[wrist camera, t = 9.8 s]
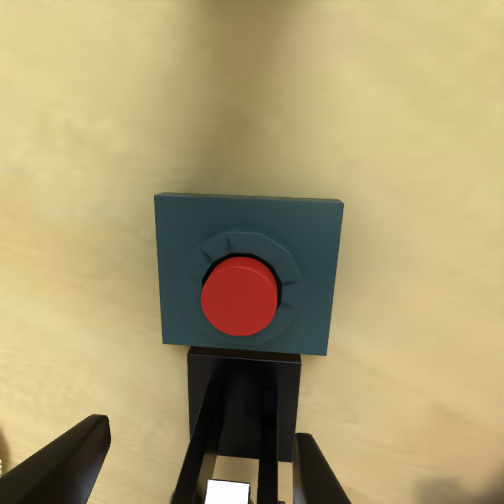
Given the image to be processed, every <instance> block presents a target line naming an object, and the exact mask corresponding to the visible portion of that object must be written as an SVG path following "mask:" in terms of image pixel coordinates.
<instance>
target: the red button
mask: <svg viewBox="0 0 504 504" xmlns="http://www.w3.org/2000/svg"><path fill="white" fill-rule="evenodd" d="M201 305H202V309H203V312H204V314H205V316H206V318H207V319H208V320H209V322H210V323H211V324H212V325H213V326H214V327H216V328H217V329H218V330H220V331H222V332H224V333H227V334H230V335H234V336H248V335H252V334H255V333H257V332H259V331H261V330H262V329H264V328H265V327H266V326H267V325H268V324H269V323H270V322H271V320H272V319H273V317H274V315H275V312H276V308H277V285H276V281H275V278H274V276H273V274H272V273H271V271H270V270H269V269H268V268H267V267H266V266H265V265H264V264H262V263H261V262H259V261H257V260H255V259H252V258H249V257H233V258H229V259H227V260H225V261H223V262H221V263H220V264H219V265H217V266H216V267H215V268H214V270H213V271H212V273H211V274H210V276H209V278H208V279H207V281H206V283H205V285H204V287H203V290H202V294H201Z"/></svg>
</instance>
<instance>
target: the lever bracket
mask: <svg viewBox="0 0 504 504" xmlns="http://www.w3.org/2000/svg"><path fill="white" fill-rule="evenodd" d="M187 367H188V397H189V427H190V443H189V446H188V450H187V453H186V456H185V459H184V462H183V466H182V469H181V472H180V475H179V478H178V481H177V485H176V488H175V490H174V491H173V493H172V495H171V498H170V501H169V504H204V500H205V494H206V487H207V480H208V479H212V476H213V471H214V467H215V462H216V457H217V455H220V456H230V457H240V458H250V459H259V472H258V488H257V504H286V503H285V502H284V501H278V461H280V462H291V463H292V461H293V450H294V439H295V429H296V418H297V407H298V396H299V385H300V373H301V355H300V354H294V353H281V352H267V351H254V350H241V349H227V348H214V347H200V346H191V347H190V349H189V351H188V353H187Z"/></svg>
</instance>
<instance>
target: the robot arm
mask: <svg viewBox="0 0 504 504" xmlns="http://www.w3.org/2000/svg"><path fill="white" fill-rule="evenodd" d="M110 444H111V434H110V426H109V419H108V417H107V416H106V415H99V414H92V415H90V416H88V417H87V418H85V419H84V420H83V421H81V422H80V423H78V424H77V425H75V426H74V427H72V428H71V429H70V430H68V431H67V432H65V433H64V434H62V435H61V436H59V437H58V438H56V439H55V440H54V441H52V442H51V443H49V444H48V445H46V446H45V447H43V448H42V449H41V450H39V451H38V452H36V453H35V454H33V455H32V456H30V457H29V458H28V459H26V460H25V461H23V462H22V463H20V464H19V465H17V466H16V467H14V468H13V469H12V470H10V471H9V472H7V473H6V474H4V475H3V476H1V477H0V504H86V503H87V501H88V498H89V496H90V493H91V491H92V489H93V486H94V484H95V481H96V479H97V477H98V474H99V472H100V469H101V467H102V465H103V462H104V460H105V457H106V455H107V453H108V450H109V447H110ZM293 504H351V502H350V501H349V499H348V497H347V495H346V494H345V492H344V490H343V488H342V487H341V485H340V483H339V481H338V480H337V478H336V476H335V475H334V473H333V471H332V469H331V468H330V466H329V464H328V462H327V461H326V459H325V457H324V455H323V454H322V452H321V450H320V448H319V447H318V445H317V443H316V442H315V440H314V438H313V437H312V435H311V434H307V433H296V434H295V439H294V450H293Z"/></svg>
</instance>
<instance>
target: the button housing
mask: <svg viewBox="0 0 504 504" xmlns="http://www.w3.org/2000/svg"><path fill="white" fill-rule="evenodd" d="M154 204H155V221H156V238H157V255H158V272H159V289H160V306H161V323H162V340H163V344H174V345H187V346H200V347H214V348H227V349H241V350H254V351H267V352H281V353H294V354H308V355H321V356H326V354H327V346H328V337H329V328H330V320H331V311H332V302H333V294H334V285H335V277H336V268H337V259H338V251H339V242H340V233H341V225H342V216H343V208H344V203H343V202H341V201H340V200H338V199H313V198H288V197H263V196H238V195H214V194H189V193H161V194H157V195H154ZM233 257H249V258H252V259H255V260H257V261H259V262H261V263H262V264H264V265H265V266H266V267H267V268H268V269H269V270H270V271H271V273H272V274H273V276H274V278H275V281H276V285H277V308H276V312H275V315H274V317H273V319H272V320H271V322H270V323H269V324H268V325H267V326H266V327H265V328H264V329H262V330H261V331H259V332H257V333H255V334H252V335H248V336H234V335H230V334H227V333H224V332H222V331H220V330H218V329H217V328H216V327H214V326H213V325H212V324H211V323H210V322H209V320H208V319H207V318H206V316H205V314H204V312H203V309H202V305H201V294H202V290H203V287H204V285H205V283H206V281H207V279H208V278H209V276H210V274H211V273H212V271H213V270H214V268H215V267H216V266H217V265H219V264H220V263H221V262H223V261H225V260H227V259H229V258H233Z"/></svg>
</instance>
